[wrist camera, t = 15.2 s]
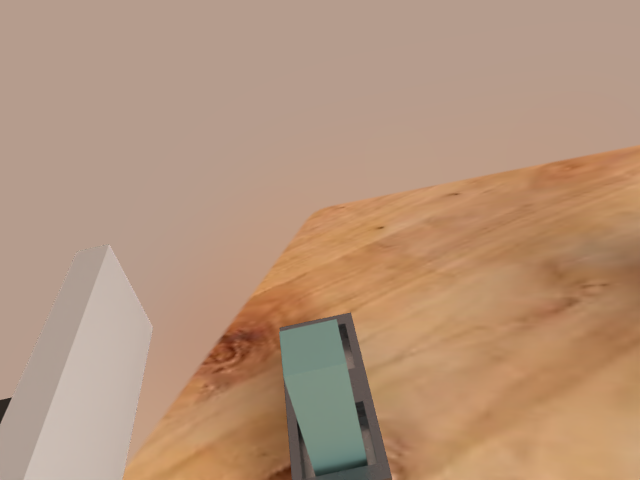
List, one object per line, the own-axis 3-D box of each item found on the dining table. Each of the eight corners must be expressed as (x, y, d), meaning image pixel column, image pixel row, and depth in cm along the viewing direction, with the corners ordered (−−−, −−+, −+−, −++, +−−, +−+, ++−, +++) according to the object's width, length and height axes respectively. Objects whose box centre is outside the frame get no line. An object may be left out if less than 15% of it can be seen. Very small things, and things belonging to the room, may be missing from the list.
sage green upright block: (310, 434, 43) (279, 331, 36) (358, 424, 43) (336, 319, 36) (317, 480, 39) (283, 377, 32) (368, 469, 39) (346, 363, 32)
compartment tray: (286, 348, 52) (279, 327, 50) (354, 334, 52) (350, 312, 50) (301, 519, 38) (293, 498, 36) (395, 499, 38) (391, 477, 36)
